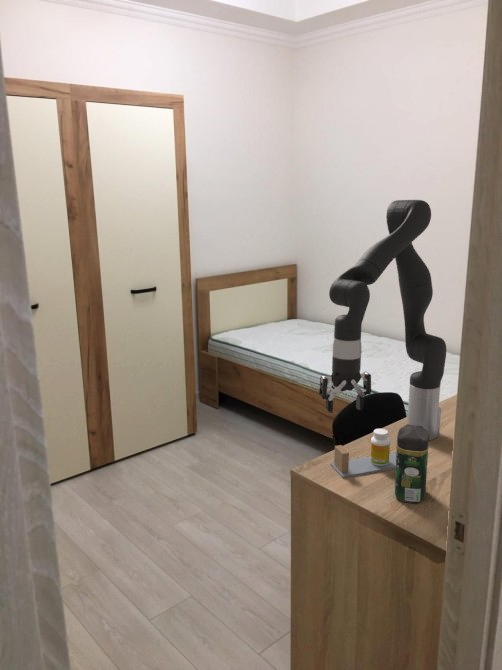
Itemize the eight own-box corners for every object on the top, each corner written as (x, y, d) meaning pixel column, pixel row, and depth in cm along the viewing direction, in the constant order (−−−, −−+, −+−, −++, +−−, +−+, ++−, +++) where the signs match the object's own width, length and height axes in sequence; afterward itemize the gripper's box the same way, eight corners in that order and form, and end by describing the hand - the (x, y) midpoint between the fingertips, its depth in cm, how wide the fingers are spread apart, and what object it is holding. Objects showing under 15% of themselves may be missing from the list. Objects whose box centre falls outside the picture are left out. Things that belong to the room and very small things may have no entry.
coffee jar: (395, 483, 157) (399, 420, 152) (425, 487, 154) (430, 423, 149) (392, 501, 148) (396, 435, 143) (424, 506, 145) (429, 439, 140)
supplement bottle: (388, 467, 164) (390, 436, 161) (369, 465, 165) (370, 434, 162) (389, 458, 169) (390, 428, 166) (370, 456, 170) (371, 426, 167)
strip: (409, 451, 174) (410, 431, 172) (424, 463, 167) (426, 442, 165) (330, 464, 167) (330, 444, 165) (342, 478, 160) (343, 456, 158)
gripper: (365, 348, 159) (362, 403, 163) (316, 352, 155) (315, 408, 160) (377, 356, 152) (374, 413, 156) (327, 360, 148) (325, 418, 153)
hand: (344, 410), depth 158 cm, fingers open, 8 cm apart
